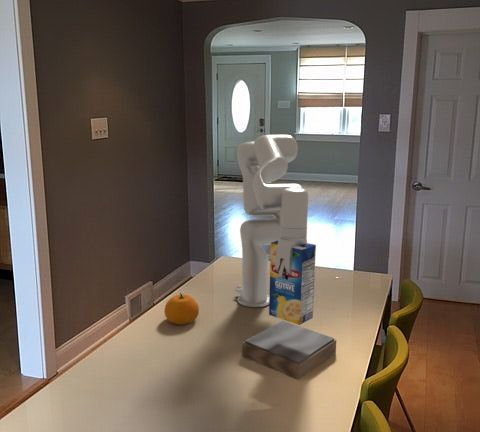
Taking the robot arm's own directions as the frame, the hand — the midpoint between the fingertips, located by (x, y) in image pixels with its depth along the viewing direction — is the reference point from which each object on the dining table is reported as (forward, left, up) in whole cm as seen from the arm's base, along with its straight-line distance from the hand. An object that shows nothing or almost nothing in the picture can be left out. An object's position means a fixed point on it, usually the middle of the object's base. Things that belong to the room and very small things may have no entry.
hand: (291, 293), depth 149 cm
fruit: (-42, -4, -20) cm, 47 cm away
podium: (0, 0, -20) cm, 20 cm away
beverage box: (0, 0, -7) cm, 7 cm away
